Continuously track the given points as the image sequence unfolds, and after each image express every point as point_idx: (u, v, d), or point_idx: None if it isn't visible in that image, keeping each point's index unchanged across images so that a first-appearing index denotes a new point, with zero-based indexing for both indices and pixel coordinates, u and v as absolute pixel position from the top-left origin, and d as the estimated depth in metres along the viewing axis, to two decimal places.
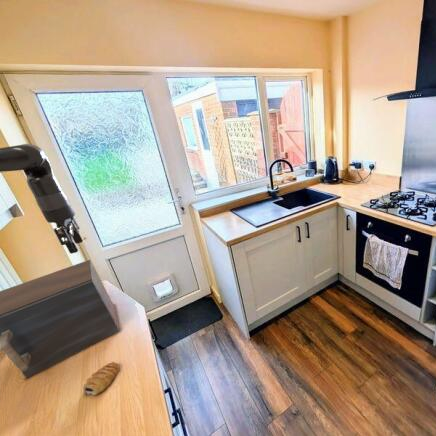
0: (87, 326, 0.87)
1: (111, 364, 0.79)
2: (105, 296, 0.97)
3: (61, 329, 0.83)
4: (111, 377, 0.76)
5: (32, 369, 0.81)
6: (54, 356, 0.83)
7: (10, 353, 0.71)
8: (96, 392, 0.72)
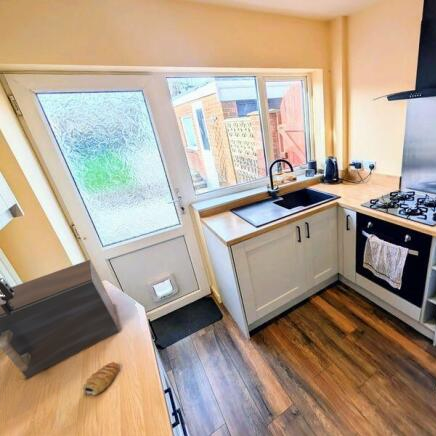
0: (87, 326, 0.87)
1: (111, 364, 0.79)
2: (105, 296, 0.97)
3: (61, 329, 0.83)
4: (111, 377, 0.76)
5: (32, 369, 0.81)
6: (54, 356, 0.83)
7: (10, 353, 0.71)
8: (96, 392, 0.72)
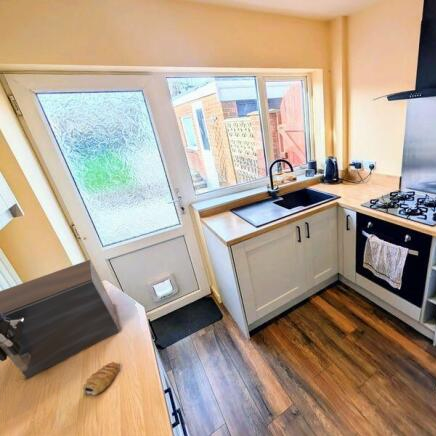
0: (87, 326, 0.87)
1: (111, 364, 0.79)
2: (105, 296, 0.97)
3: (61, 329, 0.83)
4: (111, 377, 0.76)
5: (32, 369, 0.81)
6: (54, 356, 0.83)
7: (10, 353, 0.71)
8: (96, 392, 0.72)
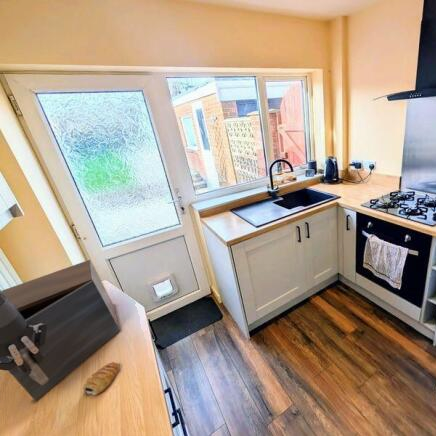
0: (91, 329, 0.85)
1: (111, 364, 0.79)
2: (105, 296, 0.97)
3: (67, 337, 0.79)
4: (111, 377, 0.76)
5: (41, 388, 0.74)
6: (62, 369, 0.79)
7: (32, 364, 0.67)
8: (96, 392, 0.72)
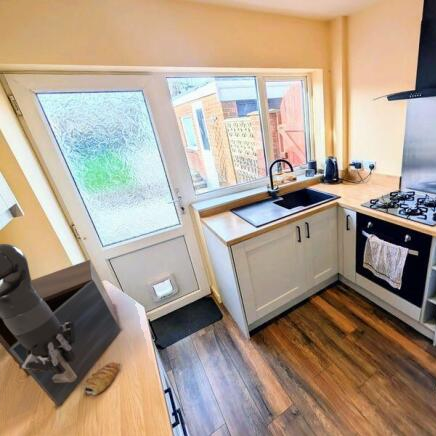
0: (97, 330, 0.85)
1: (111, 364, 0.79)
2: (105, 296, 0.97)
3: (79, 338, 0.78)
4: (111, 377, 0.76)
5: (63, 392, 0.72)
6: (78, 371, 0.77)
7: (63, 360, 0.67)
8: (96, 392, 0.72)
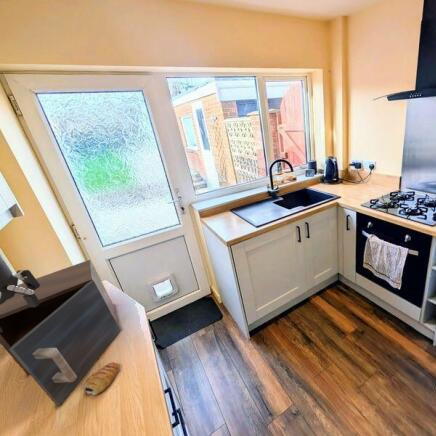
0: (97, 330, 0.85)
1: (111, 364, 0.79)
2: (105, 296, 0.97)
3: (79, 338, 0.78)
4: (111, 377, 0.76)
5: (63, 392, 0.72)
6: (78, 371, 0.77)
7: (63, 360, 0.67)
8: (96, 392, 0.72)
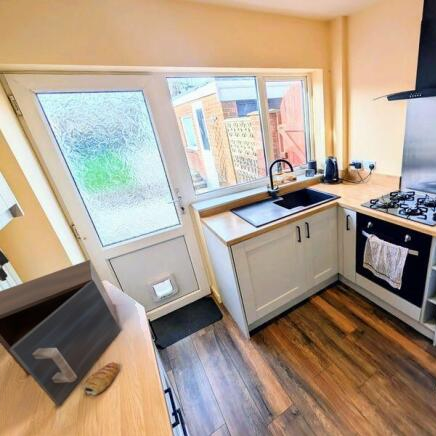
0: (97, 330, 0.85)
1: (111, 364, 0.79)
2: (105, 296, 0.97)
3: (79, 338, 0.78)
4: (111, 377, 0.76)
5: (63, 392, 0.72)
6: (78, 371, 0.77)
7: (63, 360, 0.67)
8: (96, 392, 0.72)
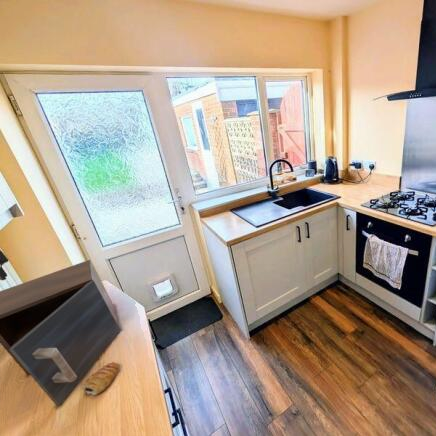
0: (97, 330, 0.85)
1: (111, 364, 0.79)
2: (105, 296, 0.97)
3: (79, 338, 0.78)
4: (111, 377, 0.76)
5: (63, 392, 0.72)
6: (78, 371, 0.77)
7: (63, 360, 0.67)
8: (96, 392, 0.72)
